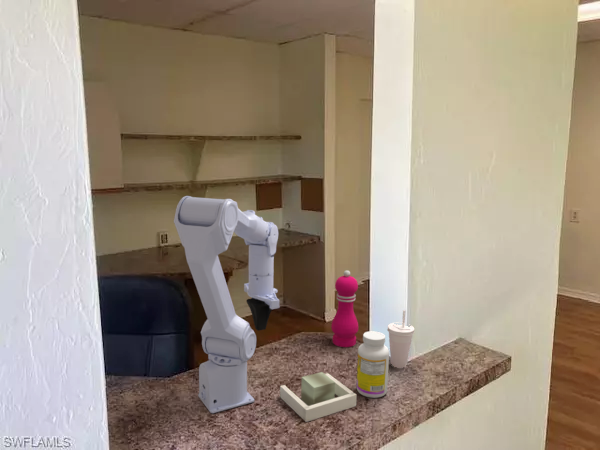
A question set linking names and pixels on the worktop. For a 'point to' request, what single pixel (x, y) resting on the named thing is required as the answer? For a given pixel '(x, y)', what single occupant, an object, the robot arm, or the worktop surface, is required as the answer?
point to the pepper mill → (345, 312)
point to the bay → (323, 408)
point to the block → (317, 388)
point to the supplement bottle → (372, 365)
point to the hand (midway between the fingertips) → (260, 329)
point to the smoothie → (400, 342)
